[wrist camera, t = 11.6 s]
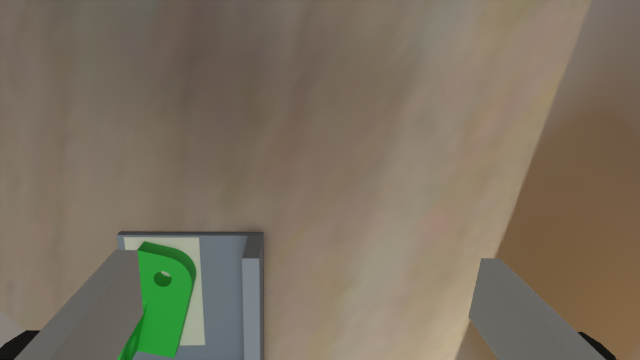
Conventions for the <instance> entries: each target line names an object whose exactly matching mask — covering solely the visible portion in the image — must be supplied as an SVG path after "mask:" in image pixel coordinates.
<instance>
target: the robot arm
mask: <svg viewBox="0 0 640 360" xmlns="http://www.w3.org/2000/svg"><path fill="white" fill-rule="evenodd" d="M142 315H143V305H142V294H141V282H140V271H139V260H138V250H115V251H114V252H113V253H112V254H111V255H110V256H109V257H108V259H107V260H106V261H105V262H104V263H103V264H102V265H101V266H100V267H99V268H98V269H97V270H96V272H95V273H94V274H93V275H92V276H91V277H90V278H89V279H88V280H87V281H86V282H85V283H84V284H83V286H82V287H81V288H80V289H79V290H78V291H77V292H76V293H75V294H74V295H73V296H72V297H71V299H70V300H69V301H68V302H67V303H66V304H65V305H64V306H63V307H62V308H61V309H60V310H59V312H58V313H57V314H56V315H55V316H54V317H53V318H52V319H51V320H50V321H49V322H48V323H47V324H46V326H45V327H44V328H43V329H42V330H41V331H29V330H26V331H25V332H23V333H21V334H20V335H18V336H17V337H15V338H13V339H12V340H10V341H9V342H7V343H5V344H4V345H3V346H2V347H1V348H0V360H117V358H118V357H119V355H120V353H121V351H122V350H123V348H124V346H125V345H126V343H127V341H128V339H129V338H130V336H131V334H132V333H133V331H134V329H135V327H136V326H137V324H138V322H139V320H140V319H141V317H142ZM469 318H470V320H471V321H472V323H473V324H474V325H475V327H476V328H477V330H478V331H479V333H480V334H481V336H482V337H483V338H484V340H485V341H486V343H487V344H488V345H489V347H490V349H491V350H492V351H493V353H494V354H495V356H496V357H497V359H498V360H616V358H615V356H614V355H613V354H612V353H611V352H609V351H608V350H607V349H606V348H605V347H604V346H603V345H602V344H601V343H599V342H597V341H595V340H594V339H593V338H591V337H589V336H588V335H586V334H585V333H583V332H576V331H575V330H574V329H573V328H572V327H571V326H570V325H569V324H568V323H567V322H566V321H565V320H564V319H563V318H562V317H560V316H559V315H558V314H557V313H556V312H555V311H554V310H553V309H552V308H551V307H550V306H549V305H548V304H547V303H546V302H545V301H544V300H543V299H542V298H541V297H540V296H538V295H537V294H536V293H535V292H534V291H533V290H532V289H531V288H530V287H529V286H528V285H527V284H526V283H525V282H524V281H523V280H522V279H521V278H520V277H519V276H517V275H516V274H515V273H514V272H513V271H512V270H511V269H510V268H509V267H508V266H507V265H506V264H505V263H504V262H503V261H502V260H501V259H491V258H481V263H480V267H479V272H478V276H477V281H476V285H475V290H474V294H473V299H472V303H471V308H470V312H469Z"/></svg>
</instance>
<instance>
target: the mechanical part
mask: <svg viewBox="0 0 640 360" xmlns="http://www.w3.org/2000/svg"><path fill="white" fill-rule="evenodd" d="M137 250H138V260H139V271H140V282H141V294H142V305H143V315H142V317H141V319H140V320H139V322H138V324H137V326H136V327H135V329H134V331H133V333H132V334H131V336H130V338H129V339H128V341H127V343H126V345H125V346H124V348H123V350H122V351H121V353H120V355H119V357H118V358H117V360H132V359H133V357H134V355H135V354H136V352H137V351H139V352H144V353H150V354H155V355H160V356H166V357H171V358H174V357H175V355H176V352H177V350H178V348H179V345H180V341H181V337H182V333H183V329H184V325H185V321H186V316H187V312H188V308H189V304H190V300H191V296H192V292H193V288H194V284H195V280H196V267H195V264H194V262H193V261H192V259H191V258H190V257H189V256H188V255H187V254H186V253H184V252H183V251H181V250H178V249H175V248H172V247H167V246H163V245H159V244H154V243H150V242H146V241H144V242H143V243H142V245H141V246H140V247H139V248H138V249H137ZM161 271H164V272H167V273H168V274H170V276H165V275H163V274H162V273H161Z"/></svg>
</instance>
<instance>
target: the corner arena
mask: <svg viewBox="0 0 640 360" xmlns="http://www.w3.org/2000/svg"><path fill="white" fill-rule="evenodd" d="M117 239H118V247H119V250H137V249H138V248H139V247H140V246H141V245H142V243H143V242H144V241H146V242H150V243H154V244H159V245H163V246H167V247H172V248H175V249H178V250H181V251H183V252H184V253H186V254H187V255H188V256H189V257H190V258H191V259H192V261H193V262H194V264H195V267H196V280H195V284H194V288H193V292H192V296H191V300H190V304H189V308H188V312H187V316H186V321H185V325H184V329H183V333H182V337H181V341H180V345H179V348H178V350H177V352H176V355H175V357H174V358H171V357H166V356H160V355H155V354H150V353H144V352H139V351H137V352H136V354H135V355H134V357H133V360H264V233H247V232H120V233H119V234H118V235H117ZM161 273H162V274H163V275H165V276H170V274H168V273H167V272H164V271H161Z"/></svg>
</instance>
